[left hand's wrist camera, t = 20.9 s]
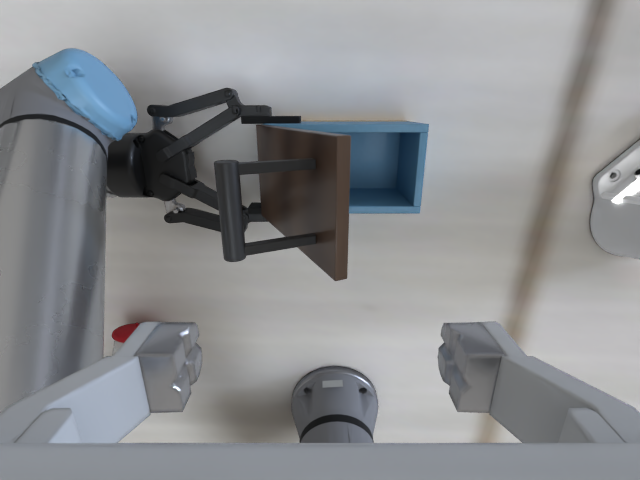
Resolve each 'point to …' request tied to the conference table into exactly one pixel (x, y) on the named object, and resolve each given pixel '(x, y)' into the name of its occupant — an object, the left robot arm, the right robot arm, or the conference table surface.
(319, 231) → the lid
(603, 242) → the left robot arm
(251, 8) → the conference table surface
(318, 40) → the conference table surface
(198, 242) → the conference table surface
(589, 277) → the conference table surface
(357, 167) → the chest
